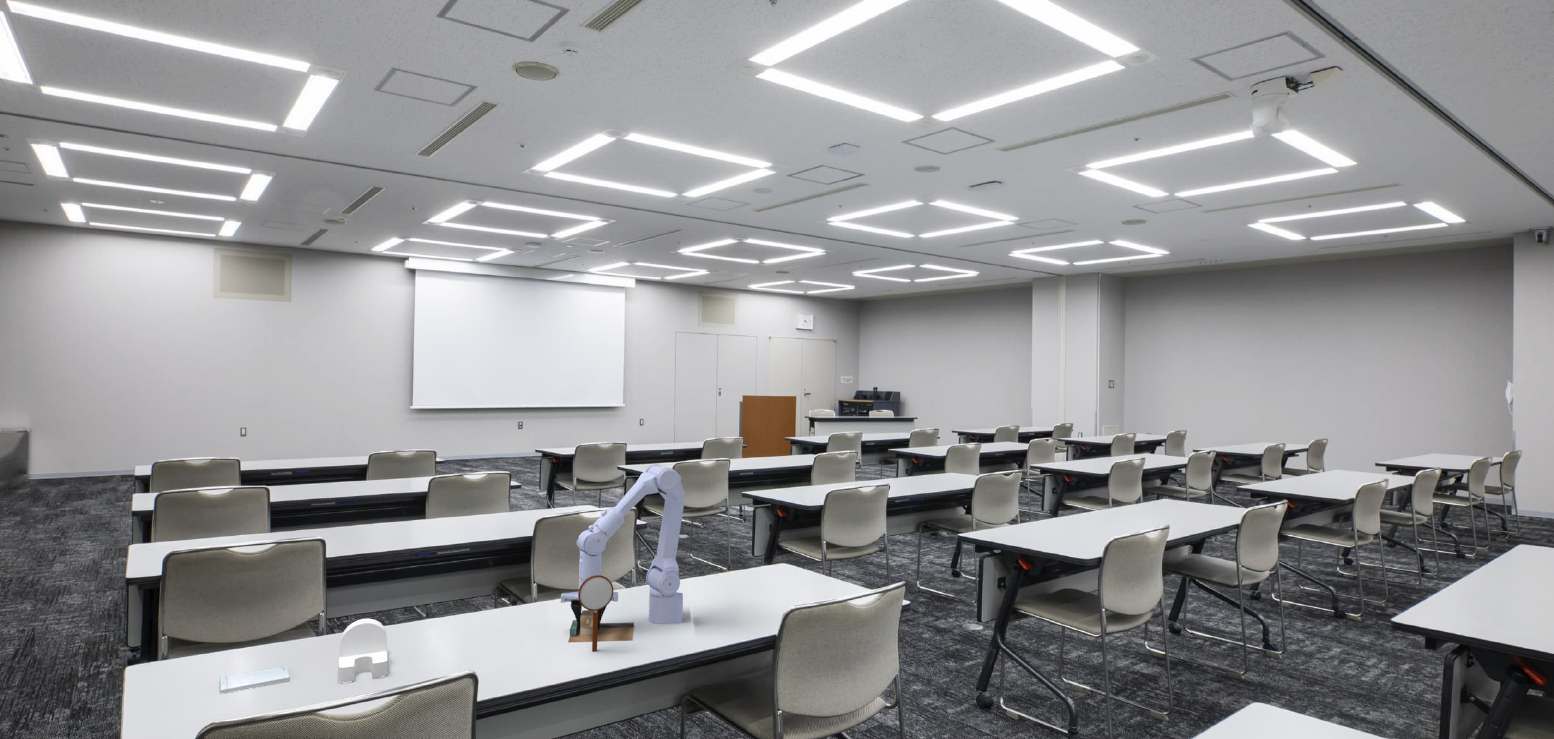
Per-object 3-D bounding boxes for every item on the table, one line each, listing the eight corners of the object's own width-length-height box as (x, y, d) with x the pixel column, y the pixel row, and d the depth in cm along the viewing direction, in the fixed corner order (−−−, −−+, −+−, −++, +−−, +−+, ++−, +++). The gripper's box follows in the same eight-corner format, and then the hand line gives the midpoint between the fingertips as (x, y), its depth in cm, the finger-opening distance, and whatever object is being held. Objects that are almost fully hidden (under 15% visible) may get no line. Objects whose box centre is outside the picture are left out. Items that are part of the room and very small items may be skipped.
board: (633, 631, 206) (634, 618, 206) (632, 646, 196) (632, 632, 196) (572, 633, 204) (573, 619, 204) (567, 648, 193) (568, 634, 193)
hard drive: (286, 664, 176) (220, 676, 169) (289, 676, 169) (220, 688, 162) (286, 671, 176) (219, 683, 168) (289, 684, 169) (220, 696, 162)
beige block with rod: (598, 626, 205) (598, 607, 205) (595, 638, 196) (595, 619, 196) (582, 626, 205) (583, 607, 205) (579, 639, 195) (579, 619, 195)
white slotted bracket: (338, 685, 169) (339, 636, 169) (340, 657, 184) (341, 612, 184) (387, 677, 173) (388, 629, 173) (385, 651, 189) (386, 607, 189)
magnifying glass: (577, 660, 185) (579, 577, 185) (575, 658, 187) (577, 576, 187) (612, 655, 189) (614, 574, 189) (610, 653, 191) (612, 572, 191)
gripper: (559, 581, 196) (558, 634, 196) (617, 580, 198) (616, 633, 198) (563, 574, 203) (561, 625, 203) (619, 573, 205) (617, 624, 205)
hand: (588, 628), depth 201 cm, fingers closed on beige block with rod, 4 cm apart
